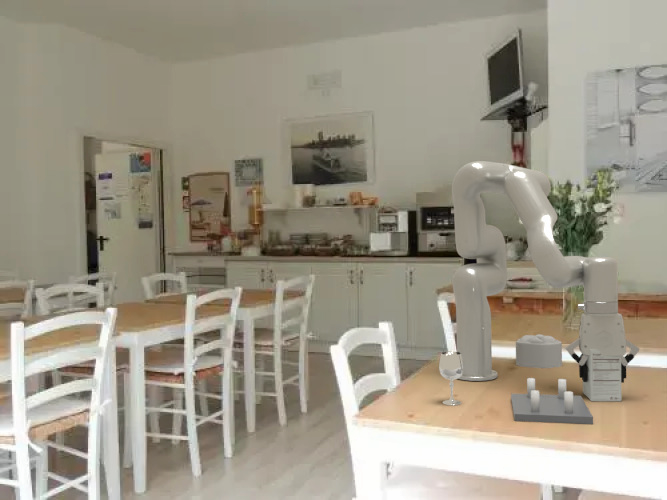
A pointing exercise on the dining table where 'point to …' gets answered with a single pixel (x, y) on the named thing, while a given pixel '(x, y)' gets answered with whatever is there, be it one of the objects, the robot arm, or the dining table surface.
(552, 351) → the lumpy-topped squat cylinder
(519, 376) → the dining table surface
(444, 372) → the wineglass
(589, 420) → the pin tray
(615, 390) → the supplement box
